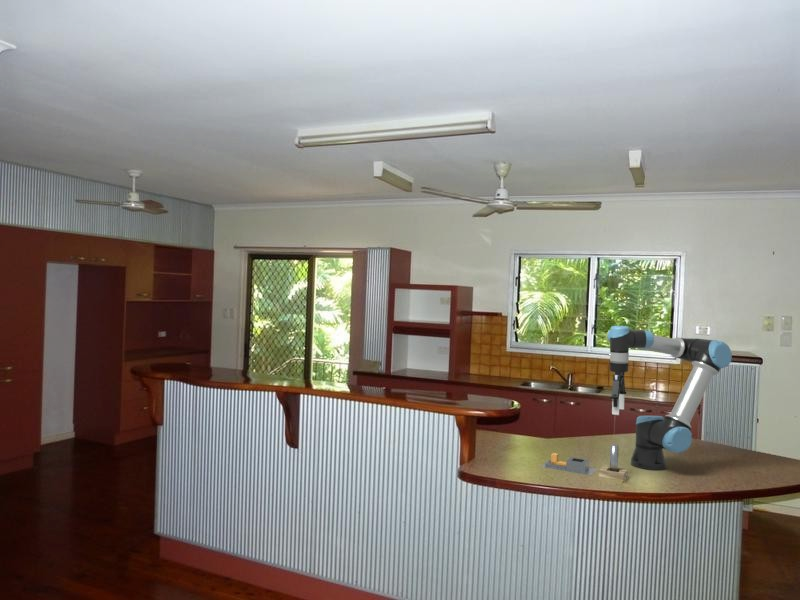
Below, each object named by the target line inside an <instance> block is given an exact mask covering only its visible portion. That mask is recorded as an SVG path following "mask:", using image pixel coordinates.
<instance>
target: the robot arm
mask: <svg viewBox="0 0 800 600" xmlns="http://www.w3.org/2000/svg"><path fill="white" fill-rule="evenodd" d="M607 341H608V342H609V353H608V356H609V361H610V362H609V371H610V372H613V373H614V374H613V375H612V379H613V380H612V389H611V395H610V399H611V405H612V406H611V407H612V408H611V414H612V415H615V416H620V410H624V411H625V395H627V391H626V384H625V383H626V382H625V373H627V372H629V363H628V362H629V359H630V358H629V355H630V354H629V353H630V352H629V351H630V349H637V350H644V351H650V352H653V353H660V354H663V355H664V354H665V355H670V356H671V357H672V358H674V359H680V360H683V361H686V362H689V363H691V364H692V369H691V371H690V373H689V376H688V377H687V379H686V381H685V383H684V385H683V387H682V390H681V392H680V393H679V396H678V398H677V400H676V402H675V404H674V406H673V408H672V410H671V412H670V413H669V414H666V415H664V416H661V415H638V417H636V421H635V447H634V450H633V453H632V455H631V458H630V464H631V466H633V467H636V468H639V469H643V470H649V471H650V470H651V471H663V470H665V469H666V468H667V461H666V458H665V455H664V451H663V449H664V450H666V451H667V452H671V453H677V454H679V453H682V452H685V451H687V450H688V449H689V448H690V447H691V444H692V441H693V433H692V426H691V422H692V419H693V418H694V416H695V413H696V411H697V409H698V407H699V405H700V404H701V401H702V399H703V397H704V395H705V393H706V391H707V388H708V387H709V385H710V383H711V381H712V378H713V376H717V375H718V374H719V373H720V371H721V369H724V368H726V367H729V365H730V364H731V362H732V360H733V359H732V357H733V355H732V352H731V348H730V346H729V345H728V344H727V343H726V342H725V341H721V340H717V339H714V340H713V339H706V338H705V339H703V338H686V337H685V338H684V337H678V336H677V337H674V338H672V337H666V336H660V335H656V334H653V332H652V331H650V330H644V329H641V330H639V329H638V330H637V329H630V328H629V326H627V325H626V326H625V325H612V326H611V327H610V329H609V330H608V332H607Z"/></svg>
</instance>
